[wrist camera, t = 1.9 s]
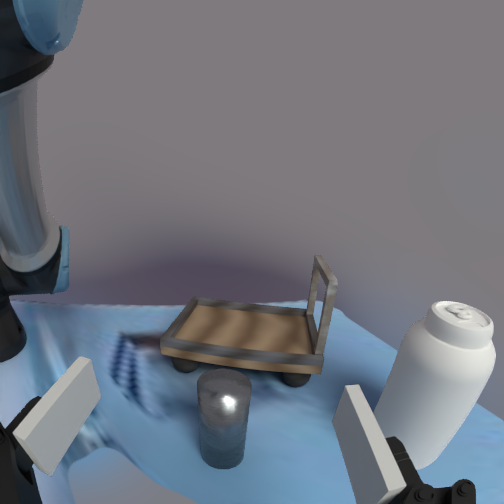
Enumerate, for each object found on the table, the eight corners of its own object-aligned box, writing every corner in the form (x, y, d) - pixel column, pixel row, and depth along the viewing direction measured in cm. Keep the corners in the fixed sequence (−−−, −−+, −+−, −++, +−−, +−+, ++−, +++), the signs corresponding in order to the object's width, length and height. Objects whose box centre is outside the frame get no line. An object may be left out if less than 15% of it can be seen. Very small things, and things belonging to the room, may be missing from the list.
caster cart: (163, 376, 39) (156, 265, 35) (193, 327, 57) (194, 241, 53) (314, 395, 37) (340, 284, 33) (305, 340, 55) (319, 253, 51)
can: (360, 411, 33) (401, 287, 29) (430, 412, 30) (479, 296, 26) (362, 475, 21) (436, 336, 17) (447, 469, 18) (528, 338, 14)
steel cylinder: (197, 464, 23) (190, 396, 21) (206, 435, 28) (204, 365, 26) (241, 472, 23) (248, 405, 20) (245, 442, 28) (253, 372, 25)
